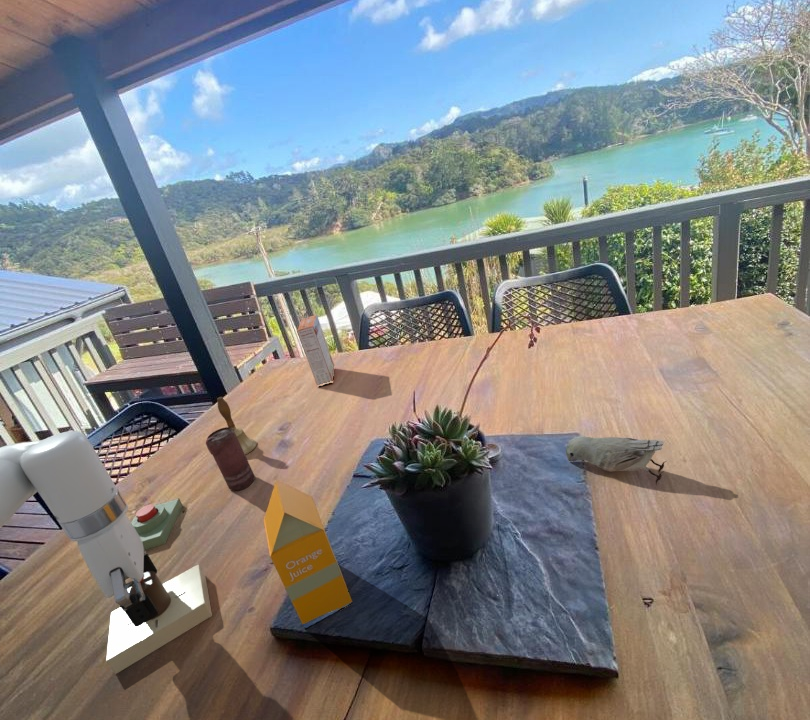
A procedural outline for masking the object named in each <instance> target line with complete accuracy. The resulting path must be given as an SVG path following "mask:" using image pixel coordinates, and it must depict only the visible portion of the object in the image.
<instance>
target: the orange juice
mask: <svg viewBox="0 0 810 720" xmlns="http://www.w3.org/2000/svg"><path fill="white" fill-rule="evenodd" d="M272 488H273V489H272V490H271V491H272V492H271V495H270V498H269V501H268V502H269V503H268V505H267V508H266V511H265V514H264V517H263V524H264V530H265V535H266V542H267V547H268V553H269V558H270V559H271V562H272V564H273V566H274V568H275V570H276V572H277V574H278V576H279V579H280V580H281V583H282V584H283V587H284V589H285V591H286V594H287V596H288V599H289V600H290V602H291V603H292V605H293V607H294V610H295V612H296V614H297V616H298V619H299V620H300V622H301V624H302V625H303V624H305V623H307V622H309V621H311V620H313V619H315V618H317V617H319V616H321V615H324V614H326V613H328V612H331V611H333V610H336V609H340V608H342V607H343V606H345V605H347V604H349V603H351V602H353V600H352V596H351V595H350V593H349V592H348V591H349V589H348V586H347V584H346V581H345V578H344V576H343V573H342V570H341V568H340V567H341V566H340V565H338V564H339V561H338V560H337V557H336V555H335V551H334V550H333V547H332V544H331V541H330V539H329V536H328V533H327V530H326V528H325V525H324V523H323V520H322V518H321V516H320V513H319V511H318V508H317V505H316V502H315V499H314V497H313V496H312V495H310V494H308V493H306V492H304V491H301V490H300V489H298V488H295V487H294V486H292V485H290V484H287V483H285V482H283V481H281V480H279V479H278V478H275V482H274V485H273V487H272Z"/></svg>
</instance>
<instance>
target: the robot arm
mask: <svg viewBox="0 0 810 720" xmlns="http://www.w3.org/2000/svg"><path fill="white" fill-rule="evenodd" d="M37 493H38V495H39V496H40V497H41V499H42V500H43V502H44V503H45V505H46V506H47V507H48V509H49V510H50V512H51V513H52V515H53V517H54V518H55V520H56V521H57V522H58V524H59V525H60V527H61V528H62V530H63V532H64V533H65V534H66V536H67V537H68V539H69V540H70V541H71V542H74V543H75V542H76V543H77V546H78V549H79V552H80V554H81V556H82V558H83V560H84V562H85V564H86V566H87V568H88V570H89V573H90V574H92V577H93V579H94V580H95V582H96V584H97V585H98V587H99V589H100V591H101V592H102V594H103V595H104V597H106V598H108V599H110V598H114V602H115V603H116V604H117V605H119V606H118V608H122V610H123V611H125V613H126V614H127V616H128V617H129V619H130V620H131V622H132V623H133V625H134V626H135V627H138V626H140V625H142V624H143V623H145V622H147V621H149V620H151V619H152V618H154V617H156V616H157V615H158V610H157V608H156V607H155V605H154V604H153V602H152V600H151V599H150V597H149V596H148V594H145V595H144V592H143V589H142V586H141V583H140V581H141V579H142V577H143V573H145V572H149V571H153V572H155V573H156V574H158V569H157V567H156V566H155V564H154V562H153V561H152V559H151V558H150V555H149V553H146V550H145V549H144V547H143V543H142V541H141V538H140V536H139V535H138V533H137V531H136V529H135V528H134V526H133V525H132V523H131V522H132V521H131V520H130V519H129V517H128V516H127V512H128V508H129V507H128V504H127V503H126V502H127V501H125V499H124V498H123V496H122V493H121V492H120V491H119V489H118V488H117V486H116V484H115V482H114V481H113V479H112V476H110V474H109V472H108V470H107V469H106V467H105V466H104V463H103V461H102V460H101V458H100V457H99V455H98V453H97V452H96V449H95V448H94V446H93V445H92V443H91V441H90V439H88V437H87V436H86V435H85V434H84V433H83V432H80V431H78V430H68V431H64V432H59V433H56V434H53V435H51V436H48V437H46V438H44V439H39V440H34V441H25V442H18V443H11V444H6V445H4V446H1V447H0V529H2V527H3V526H4V525H6V523H8V521H9V520H10V519H11V518H12V517H13V516H14V515H15V514H16V513H17V512H18V511H19V510H20V508H22V506H23V505H24V504H25V503H26V502H27V501H28V500H29V499H31V498H32V497H33V496H34V495H35V494H37ZM128 579H131V581H129V582H127V583H126V581H127V580H128ZM132 580H133V581H132ZM132 586H134V587H135V590H136V593H137V594H131V595H130V593H129V592H128V591H127V589H128V588H130V587H132ZM113 596H114V597H113Z"/></svg>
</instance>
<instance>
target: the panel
mask: <svg viewBox="0 0 810 720" xmlns="http://www.w3.org/2000/svg"><path fill="white" fill-rule="evenodd" d="M162 585H163V586H164V588H165V589H166V591H167V593H168V594H169V596H170V597H171V602H170V605H169V606H168V608H167V609H166V610H165V611H164V612H163V613H162V614H161V615H159V616H158V617H156V618H154V619H152V620H149V621H147V622H145V623H143V624H142V625H140V626H138V627H135V626H134V625H133V623H132V622H131V620H130V619H129V617H128V616H127V614H126V613H125V611H123V610H122V608H120V607H118V608H117V609H114V610H113V611H111V612H110V616H109V617H110V618H109V627H108V638H107V645H106V657H105V663H106V664H107V665H108V667H109V668H110V669H111V670H112V671H113V673H114V675H117V674H119V673H120V672H123V670H125V669H128V668H129V667H131V666H132V665H133V664H135V663H137V662H139V661H140V660H142V659H144V658H145V657H147V656H148V655H150V654H152V653H154V652H155V651H157V650H158V649H160V648H162V647H163V646H165V645H167V644H168V643H170V642H171V641H173V640H175V639H177V638H178V637H180V636H182V635H183V634H186V632H188V631H189V630H191V629H193V628H194V627H196V626H198V625H200V624H201V623H203V622H204V621H206V620H208V619H210V618H211V617H213V612H212V607H211V602H210V594H209V589H208V583H207V576H206V574H205V572H204V571H203V569H202V567H201V565H200V564H196V565H194V566H192V567H190V568H189V569H187V570H185V571H183V572H182V573H180V574H177V575H176V576H174V577H172V578H170V579H168V580H167V581H165V582H163V583H162Z"/></svg>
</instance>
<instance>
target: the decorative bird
mask: <svg viewBox="0 0 810 720" xmlns="http://www.w3.org/2000/svg"><path fill="white" fill-rule="evenodd" d="M664 443H665V441H664V440H658V439H637V438H632V437H619V436H607V437H591V436H583V435H582V436H581V435H580V436H575V437H573V438H571V439H570V440H569V441H568V442H567V445H566V448H565V454H566V457H567V460H568V462H569V461H573V462H576V461H585V462H587V463H589V464H591V465H593V466H596V467H597V468H600V469H602V470H603V471H606V472H618V471H620V472H621V471H622V472H627V471H633V472H634V471H636V472H637V471H640V470H644V471H646V472H648V473H649V474H650V475H652V476H654V477H656V479H655V485H656V486H657V485H658V482H659V481H660V480H661V479H662V476H663V475H662V474H663V473H664V472H665V471H662V470H663V469H664V467H665V463H666V462H667V460H665V461H663V462H662V464H659V463H657V462H655V461H654V460H653V459H652V458H653V456H654V455H655V453H656V451H661V450H662V449H663V446H664ZM650 462H651V463H652V464H653V465H655V466H657V467H659V468H658V471H657V473H659V474H656V473H654V472H653V471H652V470H651V469H649V467H648V464H649V463H650Z"/></svg>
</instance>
